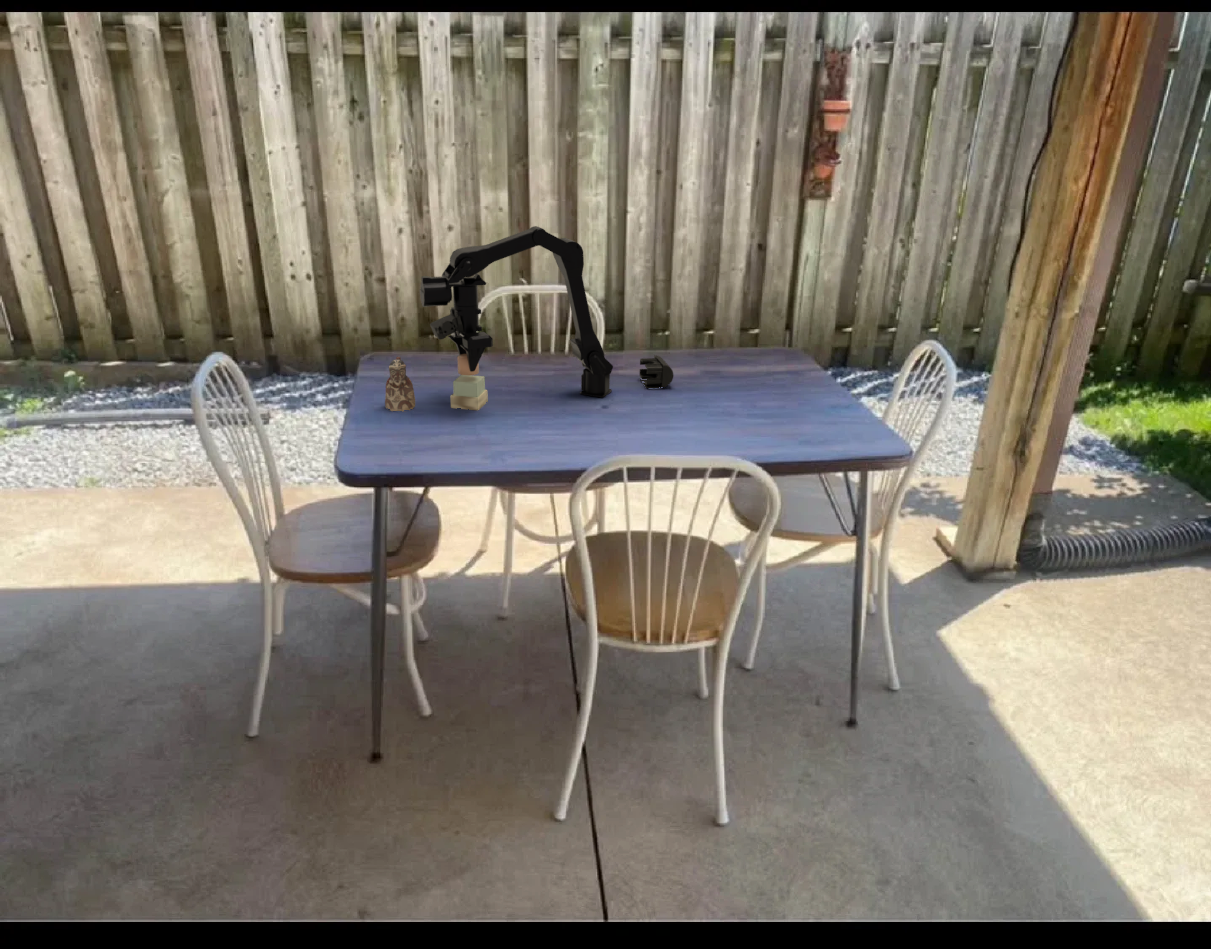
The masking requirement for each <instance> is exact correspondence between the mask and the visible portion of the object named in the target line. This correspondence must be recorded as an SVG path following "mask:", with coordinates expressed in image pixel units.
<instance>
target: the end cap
mask: <svg viewBox="0 0 1211 949" xmlns="http://www.w3.org/2000/svg"><path fill="white" fill-rule="evenodd" d="M639 365H640V366H645V368H640V369H639V378H642V379H647V380H641V381H644V382H645V383H643V384H644V385H645V387H646V388H659V387H660V388H661V387H665V388H666V387H668V386H670V385H671V383H672V381H673V379H674V371H673V369H672V367H671V366H669V364H668V363H667V362H666V361H665V360H664V358H663V357H661V356H660V355H657V354H656V355H655V354H654V356H653V357H650V358H649V357H646V358H645V357H644V358H639ZM641 381H640V382H641ZM643 384H642V385H643ZM644 385H643V386H644ZM645 387H644V388H645ZM646 388H645V389H646Z"/></svg>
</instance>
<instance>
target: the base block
mask: <svg viewBox="0 0 1211 949" xmlns="http://www.w3.org/2000/svg"><path fill="white" fill-rule="evenodd" d="M488 394H489V392H488V389H485V391H484V392H483V393H482V394H481V395H480V396H479V397H466V396H454V392H453V393H452V394H451V395H450V408H451V409H457V408H461V409H460V410H468V409H469V410H470V411H479V410H480V409H482V408H483V407H484V406H485V405H486V404H487V403H488V402H489V401H488V400H489V399H488V398H489V396H488ZM486 402H487V403H486ZM469 410H468V411H469Z"/></svg>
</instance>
